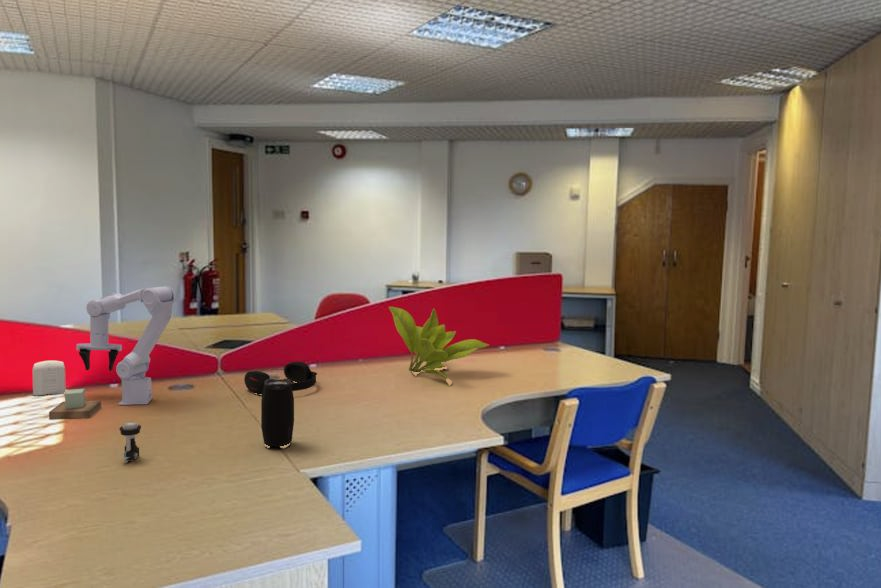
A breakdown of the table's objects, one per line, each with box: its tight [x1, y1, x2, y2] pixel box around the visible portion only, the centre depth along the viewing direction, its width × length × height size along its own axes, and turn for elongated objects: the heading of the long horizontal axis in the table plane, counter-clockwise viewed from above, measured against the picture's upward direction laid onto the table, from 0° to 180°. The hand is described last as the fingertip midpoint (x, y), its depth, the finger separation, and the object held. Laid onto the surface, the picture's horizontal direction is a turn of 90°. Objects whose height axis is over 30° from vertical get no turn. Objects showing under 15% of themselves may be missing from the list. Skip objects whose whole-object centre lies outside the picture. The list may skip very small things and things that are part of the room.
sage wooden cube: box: [64, 388, 86, 409], centre depth 216 cm, size 5×5×5 cm
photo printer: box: [32, 359, 66, 397], centre depth 238 cm, size 10×4×12 cm, turn 123°
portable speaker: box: [260, 378, 295, 446], centre depth 192 cm, size 9×9×20 cm
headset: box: [243, 361, 318, 394], centre depth 256 cm, size 28×26×9 cm
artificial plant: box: [388, 306, 490, 381], centre depth 282 cm, size 42×43×30 cm
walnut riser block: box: [48, 400, 102, 420], centre depth 217 cm, size 12×12×3 cm
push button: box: [119, 421, 142, 464], centre depth 177 cm, size 7×5×10 cm
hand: (99, 369), depth 234 cm, fingers open, 7 cm apart
